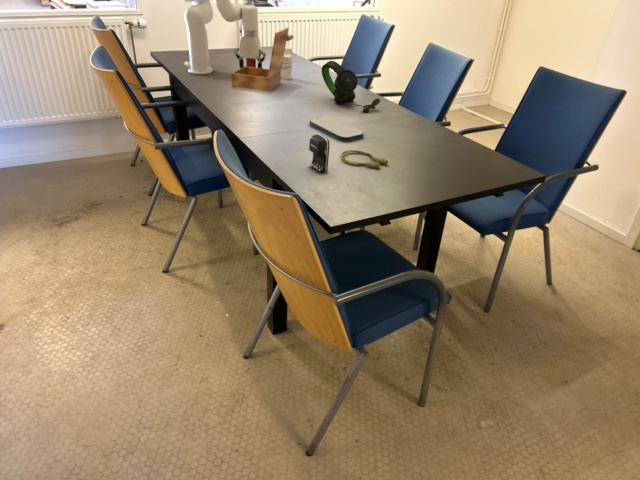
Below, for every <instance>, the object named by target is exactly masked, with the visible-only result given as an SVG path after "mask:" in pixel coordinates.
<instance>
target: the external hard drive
mask: <svg viewBox="0 0 640 480" xmlns="http://www.w3.org/2000/svg"><path fill="white" fill-rule="evenodd" d="M309 125H310V126H311V127H313V128H315V129H317V130H319V131H321V132H322V133H325V134H327V135H328V136H330V137H332V138H334V139H336V140H337V141H338V140H339V141H342V142H351V141H356V140H358V139H359V140H360V139H362V138H363V137H364V131H363V130H361V129H359V128H357V127H355V126H353V125H351V124H349V123H347V122H344V121H342V120H340V119H338V118H336V117H335V116H334V117H333V116H331V115H322V116H316V117H313V118H310V119H309Z"/></svg>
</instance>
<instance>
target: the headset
mask: <svg viewBox="0 0 640 480" xmlns="http://www.w3.org/2000/svg"><path fill="white" fill-rule="evenodd" d="M330 69H331V70H333V72H334V73H335V74H336V76H335V79H334V80H333V78H332V76H331V74H330ZM321 76H322V79H323V81H324V83H325V85H326V87H327V89H328V90H329V92H330V93H331V94H332V95H333V97H334V102H335V104H336V105H338V106H346V105H349V104H352V103H353V104H354V105H355V106H358V107H363V109H362V112H363V113H368V112H370V110H371V111H372V110H375V109H377V108H376V106H378V105H379V104H380V102H381V100H380V98H379V97H377V98H375V99H373V100H372V102H371V103H370V104H364V105H360V104H357V103H356V102H355V99H356V93H355V90H356V89H357V86H358V83H359V81H358V77H357V75H356V73H355V72H353V71H352V70H350V69H345V67H343V66H342V65H341V64H339V63H338V62H337V61H335V60H329V61H328V62H326V63H324V64H323V65H322V67H321Z"/></svg>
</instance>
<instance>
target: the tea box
mask: <svg viewBox="0 0 640 480" xmlns="http://www.w3.org/2000/svg"><path fill="white" fill-rule="evenodd" d="M268 74H269V68H263V67H262V68H258V67H257V66H256V67H248V66H246V65H244V67H242V68H240V67H239V69H236V70H234V71H233V72H231V74H230V75H231V78H230V79H231V87H234V88H242V89H248V90H254V91H255V90H256V91H262V92H263V91H264V92H271V90H274V89H275V88H276V87H278V86H279V85H280V84H281V81H282V80H281V79H282V78H281V71H279V72H277V73H276V74H274V75H273V76H271V77H268Z"/></svg>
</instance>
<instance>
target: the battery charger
mask: <svg viewBox="0 0 640 480" xmlns="http://www.w3.org/2000/svg"><path fill="white" fill-rule="evenodd" d="M308 150H309V151H310V152H311V153H312V160H311V163H310V166H309V167H310V168H311V169H312V171H315V173H318V174H326V173H328V168H329V159H330V158H329V157H330V140H329V138H328V137H326V136H325V135H323V134H320V133H317V134H313V135H311V136H310V137H309V145H308Z"/></svg>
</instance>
